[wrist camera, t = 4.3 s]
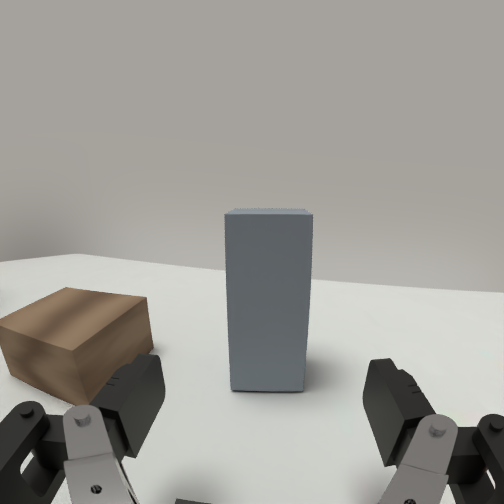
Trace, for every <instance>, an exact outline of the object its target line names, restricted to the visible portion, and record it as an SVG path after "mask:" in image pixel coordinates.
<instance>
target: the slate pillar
mask: <svg viewBox="0 0 504 504" xmlns="http://www.w3.org/2000/svg"><path fill="white" fill-rule="evenodd" d="M312 238H313V214H311V213H310V212H308V211H306V210H305V209H234V210H232V211H230V212H228V213H226V214H225V256H226V291H227V318H228V342H229V363H230V382H231V390H243V391H303V384H304V373H305V362H306V350H307V338H308V324H309V308H310V290H311V268H312Z"/></svg>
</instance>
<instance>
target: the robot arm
mask: <svg viewBox="0 0 504 504" xmlns="http://www.w3.org/2000/svg"><path fill="white" fill-rule="evenodd" d="M164 399H165V383H164V378H163V372H162V367H161V361H160V358H159V356H158V355H151V354H143V353H139V354H138V355H137V356H136V358H135V359H134V360H133V362H132V363H131V364H125V365H123V366H122V367H120V368H118V369H117V370H116V371H115V372H114V374H113V375H112V376H111V379H109V380H108V381H107V382H106V385H104V386H103V387H102V389H101V390H100V391H99V392H98V394H97V395H96V396H95V397H94V399H93V400H92V401H91V402H90V404H89V405H78V406H75V407H72V408H71V409H69V410H68V411H67V412H66V413H65V414H64V416H62V415H48V414H46V412H45V410H44V408H43V406H42V405H41V404H40V403H38V402H35V401H26V402H22V403H20V404H18V405H17V406H15V407H14V408H13V409H12V411H11V412H10V413H9V414H8V415H7V416H6V417H5V418H4V419H3V420H2V421H1V423H0V504H51V502H52V501H53V499H54V497H55V495H56V493H57V491H58V490H59V488H60V486H61V484H62V482H63V481H64V479H65V477H66V479H67V484H68V489H69V493H70V497H71V501H72V504H140V503H139V501H138V499H137V497H136V495H135V493H134V490H133V488H132V486H131V483H130V481H129V479H128V476H127V474H126V471H125V469H124V466H123V464H122V462H121V461H122V459H123V458H124V456H128V457H132V458H136V457H137V455H138V453H139V450H140V448H141V446H142V444H143V442H144V440H145V438H146V436H147V434H148V432H149V430H150V428H151V426H152V424H153V422H154V420H155V418H156V416H157V414H158V412H159V410H160V408H161V406H162V404H163V402H164ZM363 406H364V409H365V412H366V414H367V417H368V420H369V423H370V426H371V428H372V431H373V434H374V437H375V440H376V443H377V446H378V449H379V452H380V455H381V458H382V461H383V464H384V467H387V466H392V465H396V468H397V471H396V473H395V475H394V477H393V478H392V480H391V482H390V484H389V486H388V487H387V489H386V491H385V492H384V494H383V496H382V497H381V499H380V501H379V502H378V504H439V503H440V501H441V498H442V495H443V493H444V490H445V487H446V484H449V486H450V489H451V491H452V494H453V497H454V499H455V502H456V504H504V417H503V416H501V415H498V414H489V415H486V416H484V417H482V418H481V420H480V421H479V423H478V425H477V427H457V425H456V423H455V422H454V421H453V420H452V419H451V418H449V417H447V416H444V415H439V414H436V413H435V411H434V410H433V408H432V406H431V405H430V403H429V402H428V400H427V398H426V397H425V395H424V394H423V392H421V389H420V388H419V386H417V383H416V381H415V380H414V378H413V377H412V376H411V375H410V374H408V373H407V372H406V371H404V370H403V369H401V370H398V369H397V368H396V366H395V364H394V363H393V361H392V360H391V359H390V358H387V359H375V360H371V361H370V363H369V368H368V372H367V377H366V382H365V386H364V391H363ZM30 451H31V452H32V454H33V456H34V457H33V458H32V460H31V461H30V462H29V464H28V465H27V467H26V468H25V470H24V471H23V473H22V474H21V473H20V467H21V464H22V463H23V461H24V460H25V458H26V457H27V456H28V454H29V453H30ZM487 470H489V472H490V474H491V476H492V478H493V480H494V482H495V489H494V487H493V485H492V483H491V480H490V478H489V476H488V474H487V472H486V471H487ZM175 504H209V503H202V502H195V501H188V500H182V499H176V502H175Z"/></svg>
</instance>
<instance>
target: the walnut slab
mask: <svg viewBox="0 0 504 504" xmlns="http://www.w3.org/2000/svg"><path fill="white" fill-rule="evenodd" d="M0 346H1V349H2V352H3V355H4V358H5V361H6V364H7V366H8V369H9V372H10V374H11V375H12V376H14V377H16V378H18V379H20V380H22V381H23V382H25V383H27V384H29V385H31V386H33V387H35V388H37V389H39V390H41V391H43V392H46V393H48V394H50V395H52V396H54V397H56V398H59V399H61V400H63V401H66V402H68V403H70V404H73V405H75V406H78V405H89V404H90V402H91V401H92V400H93V399H94V397H95V396H96V395H97V394H98V392H99V391H100V390H101V389H102V387H103V386H104V385H106V382H107V381H108V380H109V379H111V376H112V375H113V374H114V372H115V371H116V370H117V369H118V368H120V367H122V366H123V365H125V364H131V363H132V362H133V360H134V359H135V358H136V356H137V355H138V354H139V353H143V354H148V353H149V352H150V351H151V350H152V349H153V348H154V347H153V341H152V334H151V327H150V320H149V313H148V305H147V297H140V296H131V295H122V294H113V293H105V292H97V291H89V290H82V289H74V288H67V287H65V288H63V289H61V290H59V291H57V292H55V293H53V294H50V295H48V296H46V297H44V298H42V299H40V300H38V301H36V302H34V303H32V304H29V305H27V306H25V307H23V308H21V309H19V310H17V311H15V312H13V313H11V314H9V315H7V316H5V317H3V318H1V319H0Z"/></svg>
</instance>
